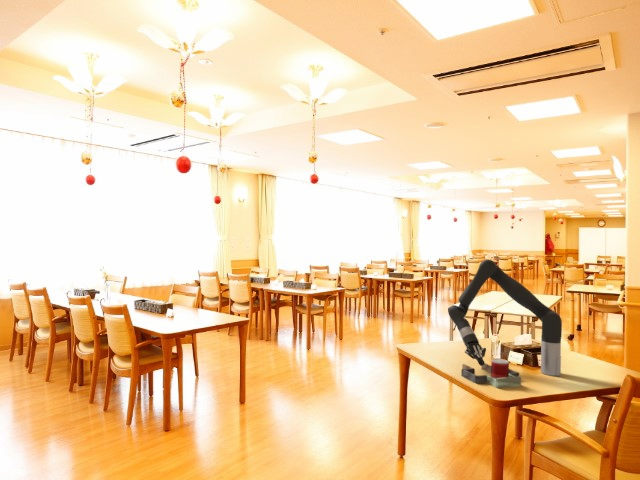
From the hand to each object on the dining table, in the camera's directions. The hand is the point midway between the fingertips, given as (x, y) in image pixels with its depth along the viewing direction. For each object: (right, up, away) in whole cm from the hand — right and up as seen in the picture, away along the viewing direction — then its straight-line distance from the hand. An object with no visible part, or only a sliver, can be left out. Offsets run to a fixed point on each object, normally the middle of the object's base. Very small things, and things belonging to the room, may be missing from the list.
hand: (482, 365), depth 224 cm
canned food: (+4, -5, -13) cm, 14 cm away
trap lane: (+2, -5, -6) cm, 8 cm away
